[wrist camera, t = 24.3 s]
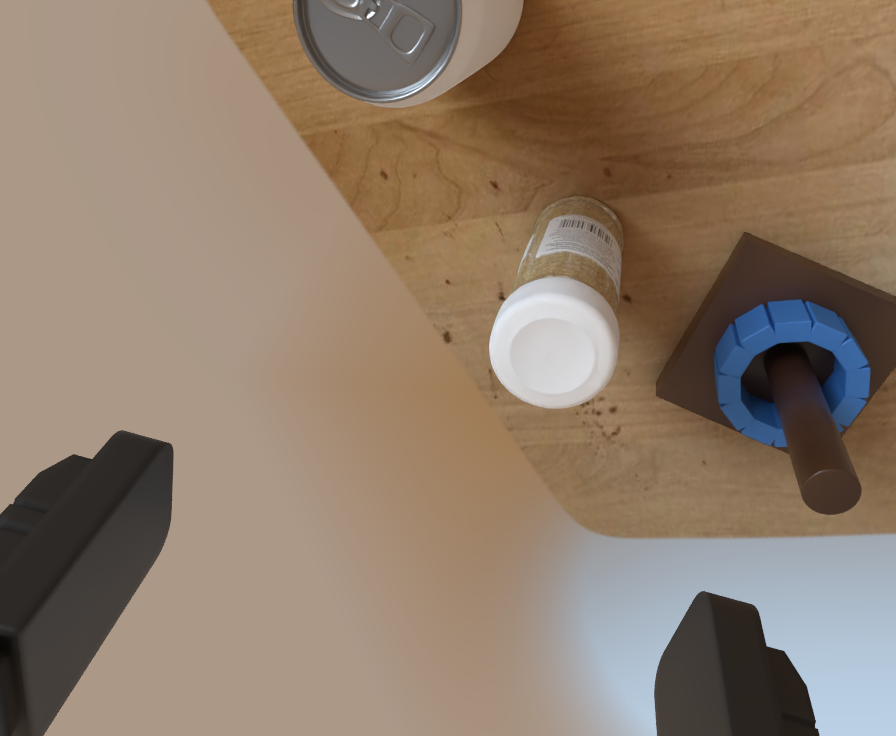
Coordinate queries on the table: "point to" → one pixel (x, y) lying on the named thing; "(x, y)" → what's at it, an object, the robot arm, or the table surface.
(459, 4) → the can
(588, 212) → the sprinkles bottle
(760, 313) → the tape roll
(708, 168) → the table surface
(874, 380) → the tape stand
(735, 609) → the robot arm
